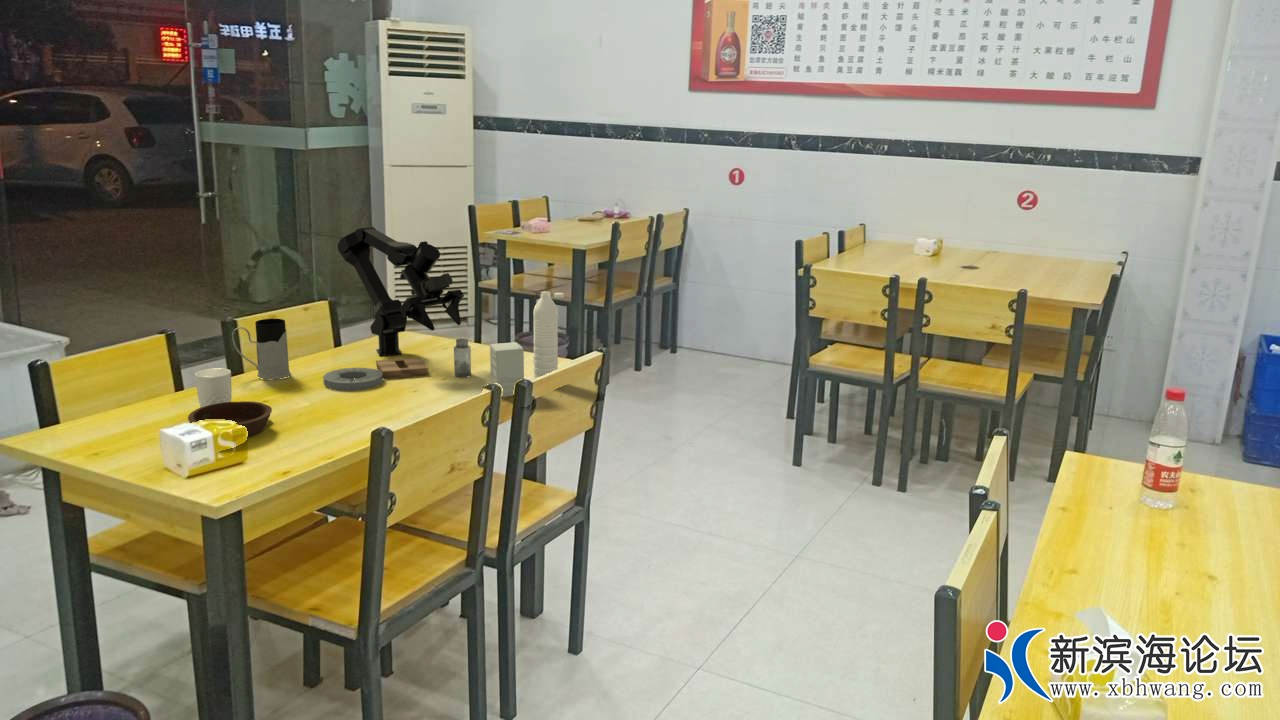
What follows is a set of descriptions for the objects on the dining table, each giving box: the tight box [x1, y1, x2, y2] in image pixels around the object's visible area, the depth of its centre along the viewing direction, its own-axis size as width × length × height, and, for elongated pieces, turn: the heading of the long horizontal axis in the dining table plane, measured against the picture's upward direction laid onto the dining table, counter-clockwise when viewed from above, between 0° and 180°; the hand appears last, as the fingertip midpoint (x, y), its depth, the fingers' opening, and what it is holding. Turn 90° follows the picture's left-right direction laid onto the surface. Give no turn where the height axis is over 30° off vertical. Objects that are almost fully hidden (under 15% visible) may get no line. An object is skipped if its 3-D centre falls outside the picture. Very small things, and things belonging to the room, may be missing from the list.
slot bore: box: [375, 356, 429, 380], centre depth 282 cm, size 12×12×2 cm
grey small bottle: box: [453, 338, 472, 378], centre depth 279 cm, size 4×4×10 cm
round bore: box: [322, 367, 384, 391], centre depth 271 cm, size 15×15×2 cm
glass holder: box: [231, 318, 292, 380], centre depth 273 cm, size 9×14×15 cm, turn 104°
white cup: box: [194, 367, 233, 408], centre depth 243 cm, size 8×8×10 cm
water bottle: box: [533, 290, 565, 379], centre depth 271 cm, size 9×6×25 cm
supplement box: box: [489, 341, 525, 398], centre depth 264 cm, size 7×7×13 cm
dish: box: [187, 400, 273, 438], centre depth 230 cm, size 18×22×5 cm
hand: (446, 327), depth 281 cm, fingers open, 9 cm apart
